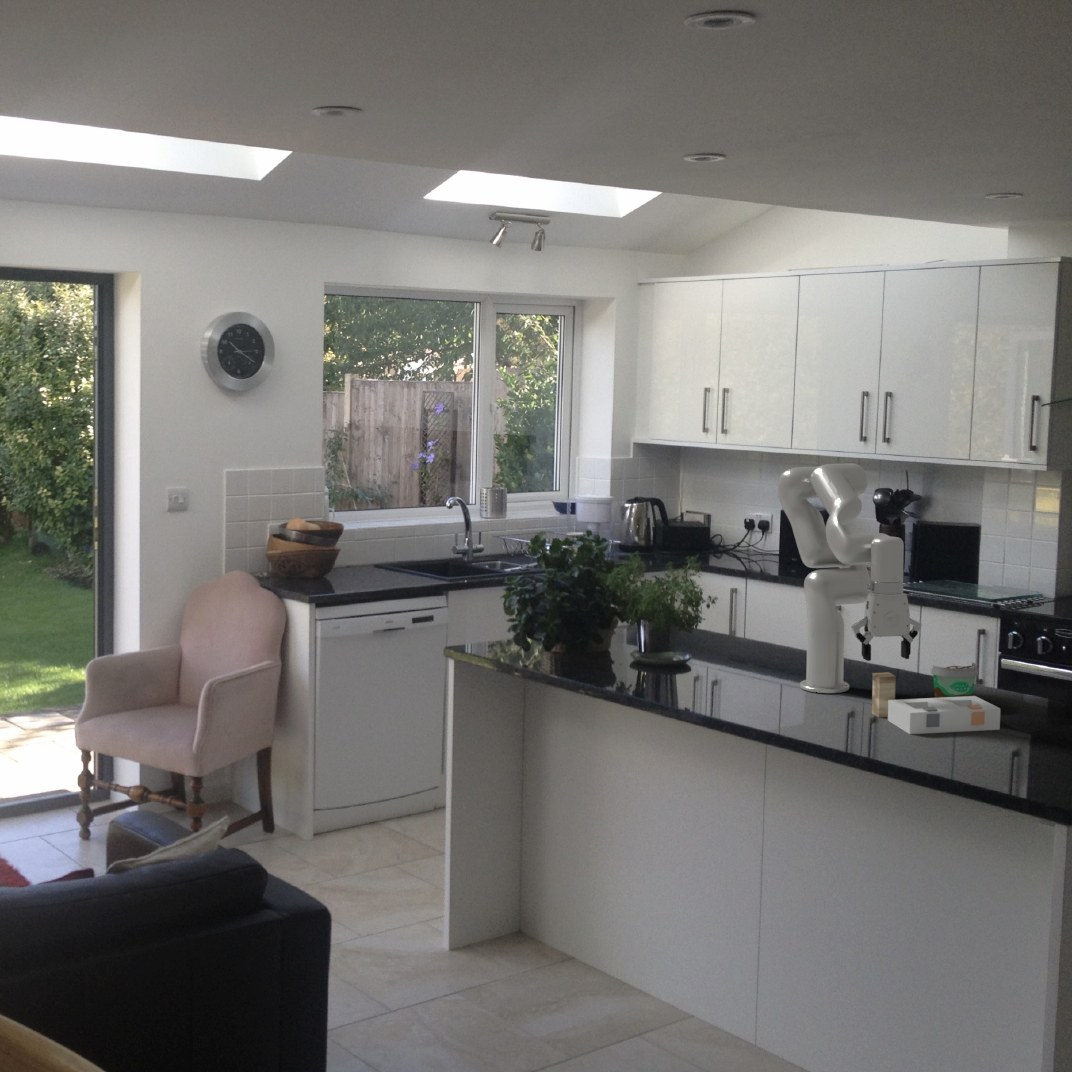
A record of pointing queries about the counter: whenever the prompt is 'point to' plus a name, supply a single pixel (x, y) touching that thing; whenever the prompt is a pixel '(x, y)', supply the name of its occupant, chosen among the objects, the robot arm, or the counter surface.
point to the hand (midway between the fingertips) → (886, 658)
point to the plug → (882, 693)
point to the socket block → (943, 715)
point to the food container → (954, 680)
